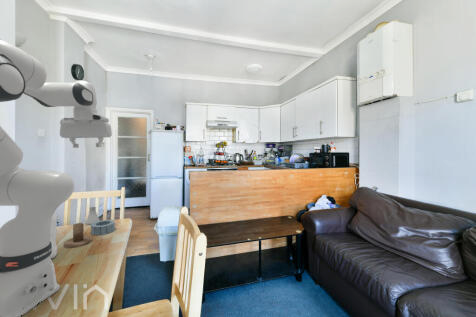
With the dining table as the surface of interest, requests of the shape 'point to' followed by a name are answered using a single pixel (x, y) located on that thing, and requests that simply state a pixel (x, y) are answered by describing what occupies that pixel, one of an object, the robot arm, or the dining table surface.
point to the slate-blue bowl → (102, 227)
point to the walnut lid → (78, 237)
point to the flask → (92, 216)
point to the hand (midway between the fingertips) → (87, 147)
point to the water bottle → (53, 235)
